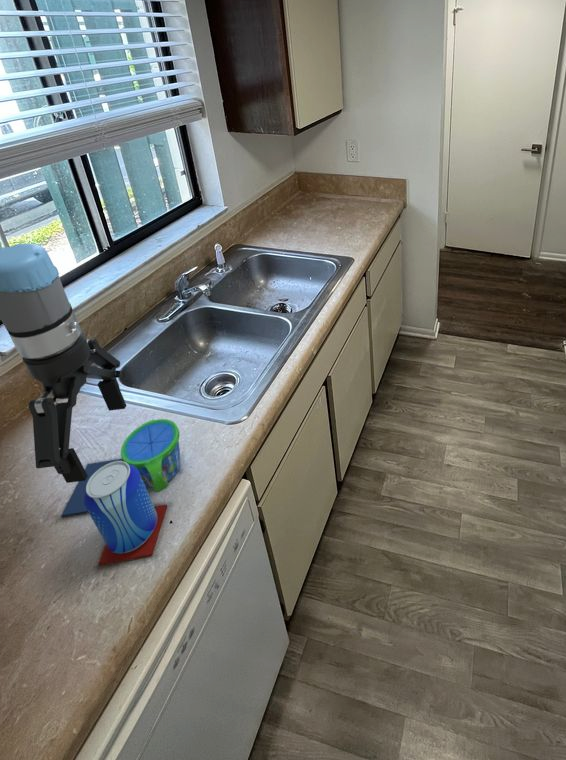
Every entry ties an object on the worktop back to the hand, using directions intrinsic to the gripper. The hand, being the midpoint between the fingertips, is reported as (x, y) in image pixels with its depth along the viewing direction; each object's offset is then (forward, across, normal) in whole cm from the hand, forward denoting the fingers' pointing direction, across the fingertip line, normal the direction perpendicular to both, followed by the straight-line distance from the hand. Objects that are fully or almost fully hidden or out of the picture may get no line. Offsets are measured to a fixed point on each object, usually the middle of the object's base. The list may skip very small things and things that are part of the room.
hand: (99, 441), depth 74 cm
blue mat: (+24, +10, +11) cm, 28 cm away
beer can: (+24, -1, 0) cm, 24 cm away
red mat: (+24, -1, 0) cm, 24 cm away
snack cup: (+24, +11, 0) cm, 27 cm away
